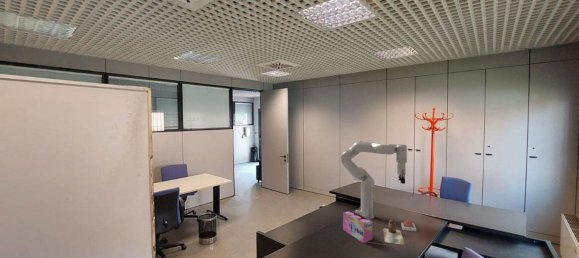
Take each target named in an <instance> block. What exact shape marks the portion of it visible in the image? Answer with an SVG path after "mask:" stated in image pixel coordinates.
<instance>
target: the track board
mask: <svg viewBox="0 0 579 258" xmlns="http://www.w3.org/2000/svg"><path fill="white" fill-rule="evenodd" d="M382 230H383V239H384V242H385V244H387V243H388V244H389V243H391V244H395V245H397V244H398V245H405V242H404V241H405V240H404V238H403V234H402V230H399V229H396V233H390V232H389V228H382Z"/></svg>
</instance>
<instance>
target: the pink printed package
mask: <svg viewBox="0 0 579 258" xmlns="http://www.w3.org/2000/svg"><path fill="white" fill-rule="evenodd" d="M342 215H343V218H342V219H343V220H342V230H343V231H344V232H346V233H347V234H349V235H350V236H352V237H353V238H355V239H356V240H358V241H359V242H361V243H363V244H366V243H370V241H372V240H373V234H374V232H373V231H374V230H373V229H374V228H373V226H374V225H373V224H374V222H373V220H372V219H368V218H365V217H363V216H361V215H359V213H356V212H355V211H353V210H349V211H346V212H345V211H343V212H342Z"/></svg>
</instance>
